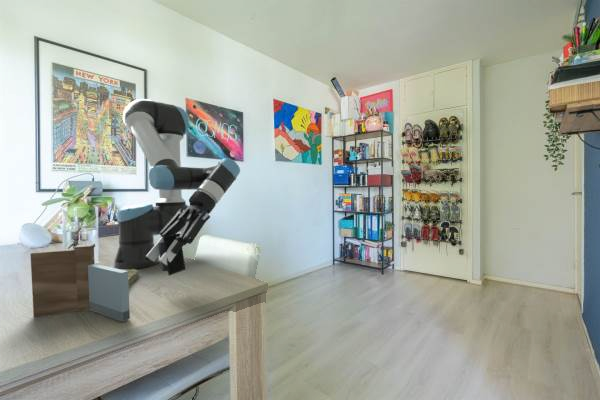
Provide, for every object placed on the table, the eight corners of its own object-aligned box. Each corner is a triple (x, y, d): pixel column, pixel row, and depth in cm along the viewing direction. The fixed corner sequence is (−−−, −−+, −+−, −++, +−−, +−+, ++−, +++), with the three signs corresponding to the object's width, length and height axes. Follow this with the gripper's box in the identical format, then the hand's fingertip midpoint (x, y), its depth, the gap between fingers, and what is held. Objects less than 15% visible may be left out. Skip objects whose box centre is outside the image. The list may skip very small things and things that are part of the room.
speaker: (190, 269, 77) (185, 232, 77) (169, 275, 73) (163, 236, 73) (180, 266, 83) (175, 232, 82) (159, 272, 79) (154, 236, 78)
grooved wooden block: (39, 312, 67) (35, 247, 66) (97, 304, 72) (95, 243, 71) (32, 318, 64) (28, 250, 63) (93, 309, 69) (91, 246, 68)
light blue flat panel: (89, 309, 68) (87, 265, 67) (96, 307, 69) (94, 263, 69) (122, 321, 62) (121, 273, 61) (129, 318, 63) (128, 271, 63)
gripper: (233, 206, 84) (186, 274, 72) (195, 204, 95) (149, 262, 83) (218, 189, 79) (165, 258, 67) (180, 189, 91) (129, 248, 79)
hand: (156, 260), depth 75 cm, fingers closed on speaker, 6 cm apart
